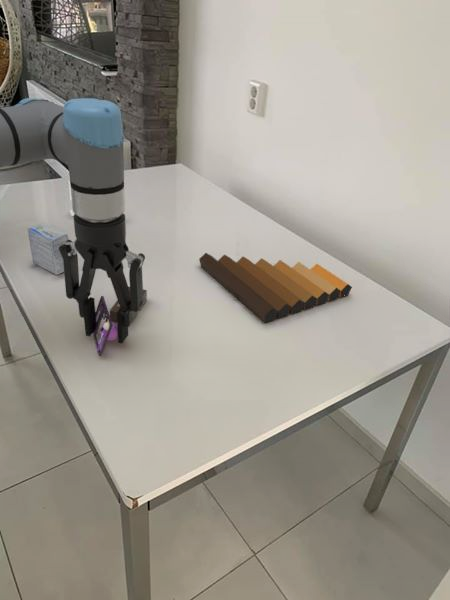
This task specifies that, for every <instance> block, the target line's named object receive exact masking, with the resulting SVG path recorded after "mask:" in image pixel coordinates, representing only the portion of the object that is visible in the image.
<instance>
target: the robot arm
mask: <svg viewBox="0 0 450 600" xmlns="http://www.w3.org/2000/svg"><path fill="white" fill-rule="evenodd" d="M122 119H123V118H122V110H121V109H120V107H119V106H118V105H117V104H116V103H114V102H112V101H109V100H107V99H98V98H92V97H91V98H90V97H82V98H81V97H80V98H79V97H78V98H72V99H69V100H67V101H66V102H65V103H64V104H63V105H61V104H57V103H55V102H54V101H50V100H48V99H44V98H35V97H27V98H23V99H20V101H18V102H17V103H16V104H15V105H11V106H2V107H0V169H1V168H6V167H11V166H17V165H23V164H28V163H34V162H39V161H43V160H44V161H45V160H54V161H57V162H58V163H61V164H64V165H67V166H68V174H69V185H70V194H71V195H70V196H71V205H72V208H71V209H73V212H74V213H75V214H74V216H72V218H73V227H74V236H75V241H72V239H69V240H67V241H66V242H64V243H63V244H62V245H61V246H60V247H59V251H60V253H61V256H62V258H63V263H64V272H63V273H64V286H65V296H66V298H67V299H70V300H72V299H74V300H75V301H76V302H77V304H78V314H79V317H80V318H82V319H83V321H84V332H85V333H84V334H85V337H91V336H92V335H93V332H94V330H95V327H96V314H95V312H96V303H95V297H92V296H91V295H92V287H93V283H94V280H95V275H96V272H97V270H102V271H104V272H105V273H106V276H107V278H109V279H110V282H111V284H112V288H113V291H114V293H115V296H116V300H118V302H119V305H120V309H119V310H118V312H117V322H116V324H117V327H118V338H117V343H118V344H120V345H121V344H124V342H125V340H126V339H127V337H128V336H129V327H130V326H131V324H132V322H133V321H134V320H133V313H132V311H133V312H137V311H138V310H139V309H140V307H141V306H142V304H143V290H144V285H143V284H144V283H143V282H144V281H143V266H144V262H145V260H146V256H145V254H144V253H143V252H140V253H138V254H136V253H135V252H132V251H130V249H129V246H128V244H127V242H126V240H127V239H126V238H127V230H126V229H127V227H126V224H127V223H126V214H125V211H126V198H125V159H124V153H125V152H124V141H125V134H124V128H123V120H122ZM78 254H79V255H80V256H81V258H82V259H83V263H82V264H83V265H82V268H81V271H82V273H81V277H80V274H79V259H78V257H79V255H78ZM123 260H126V262H127V268H128V269H129V271H128V277H129V278H128V279H129V285H128V282H127V278H126V276H125V272H124V264H123ZM128 287H130V291H129V288H128ZM142 307H143V306H142ZM140 310H141V309H140ZM138 312H139V311H138Z"/></svg>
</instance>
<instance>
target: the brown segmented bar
mask: <svg viewBox="0 0 450 600" xmlns="http://www.w3.org/2000/svg"><path fill="white" fill-rule="evenodd" d="M128 288H129V291H130V286H128ZM147 291H148V290H147V289H143V304H142V306H141V307H140V309H139V310H138V311H137V312H133V311H132V313H133V321H134V320H135V319H136V317H137V315H138V314H139V313H138V312H139V311H141V310H142V308H143V306H144V305H145V304H146V302H147V301H148V299H147V298H148V297H147V296H148V295H147V293H148V292H147ZM119 309H120V305H119V302H118V299H116V301H115V303H114V304H113V305H112V307H111V308H110V309H109V315H110V318H111V321H112V322H113V323H117V312H118V310H119Z"/></svg>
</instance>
